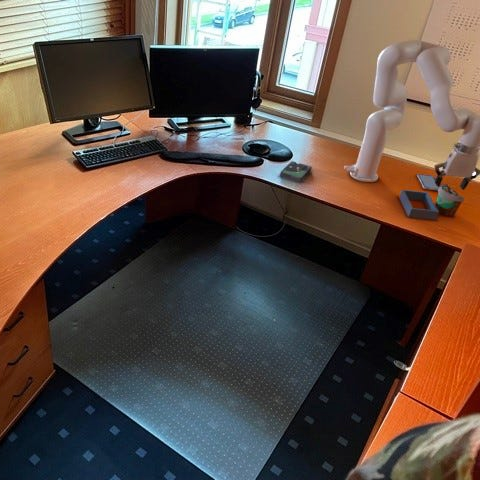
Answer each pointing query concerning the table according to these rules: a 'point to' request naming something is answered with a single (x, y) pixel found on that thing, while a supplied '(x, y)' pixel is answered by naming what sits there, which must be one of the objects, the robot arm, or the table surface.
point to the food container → (448, 201)
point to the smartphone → (428, 182)
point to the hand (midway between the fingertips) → (449, 186)
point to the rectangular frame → (415, 212)
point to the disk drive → (295, 171)
